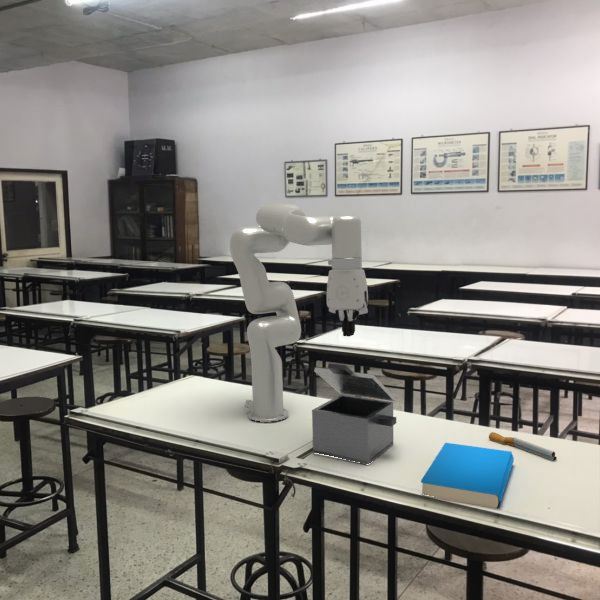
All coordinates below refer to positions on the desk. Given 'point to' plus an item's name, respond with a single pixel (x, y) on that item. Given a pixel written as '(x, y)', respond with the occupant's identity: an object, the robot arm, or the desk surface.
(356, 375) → the cooker lid
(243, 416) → the desk surface
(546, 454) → the orange and grey rod
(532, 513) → the desk surface
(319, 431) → the grey open box
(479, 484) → the book
